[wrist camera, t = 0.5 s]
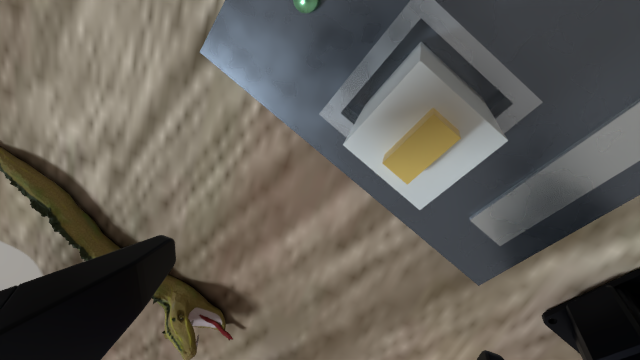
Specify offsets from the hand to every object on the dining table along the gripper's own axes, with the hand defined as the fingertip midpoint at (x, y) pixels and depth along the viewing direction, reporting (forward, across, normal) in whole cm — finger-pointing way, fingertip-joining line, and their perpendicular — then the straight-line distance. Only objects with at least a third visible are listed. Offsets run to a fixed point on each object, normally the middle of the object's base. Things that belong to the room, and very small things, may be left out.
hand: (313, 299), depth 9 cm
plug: (+11, -2, -3) cm, 12 cm away
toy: (+12, +21, +15) cm, 29 cm away
